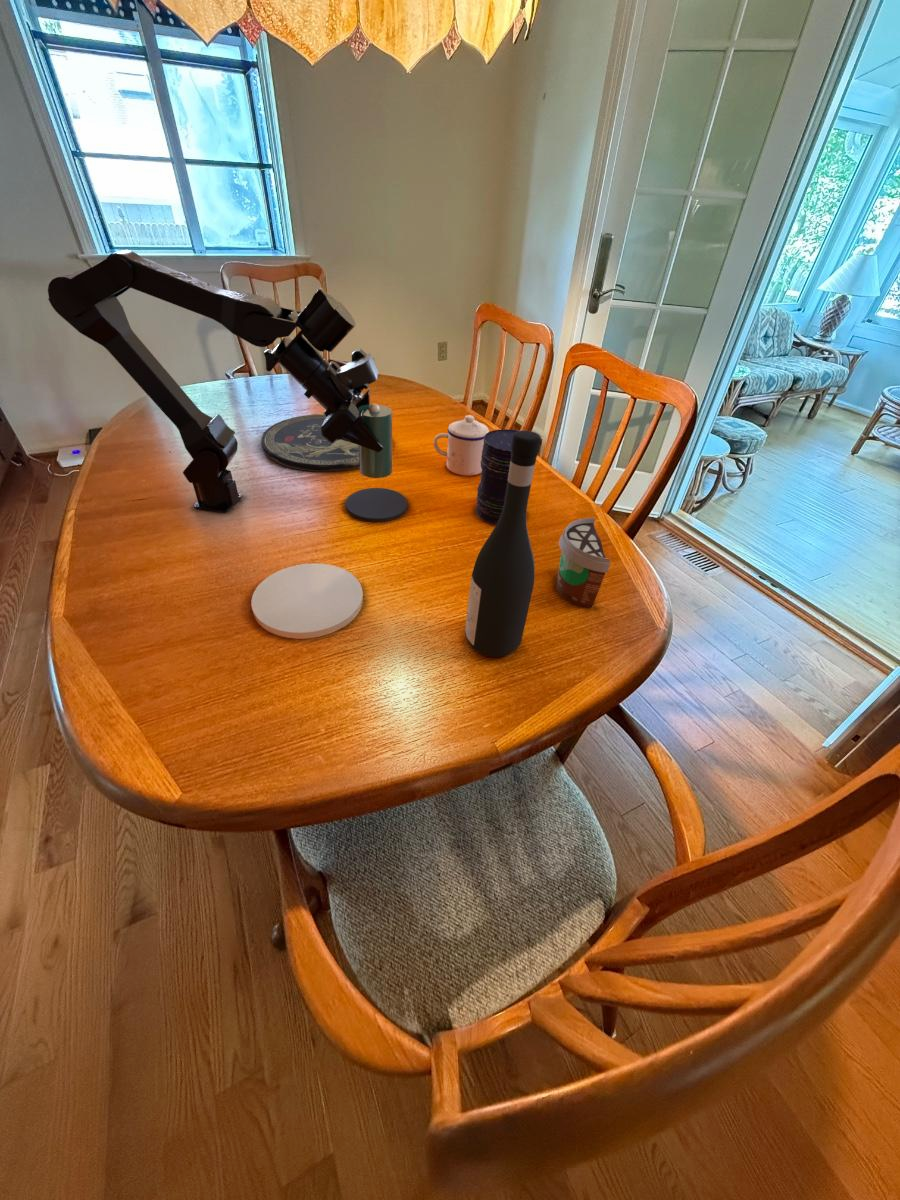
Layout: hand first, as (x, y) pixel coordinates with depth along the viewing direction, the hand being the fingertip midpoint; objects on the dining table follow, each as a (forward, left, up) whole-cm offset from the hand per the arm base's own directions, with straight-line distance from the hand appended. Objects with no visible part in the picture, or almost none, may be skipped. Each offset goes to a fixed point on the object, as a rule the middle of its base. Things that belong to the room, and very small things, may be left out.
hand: (382, 442), depth 87 cm
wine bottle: (+24, -31, -14) cm, 42 cm away
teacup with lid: (+11, +23, -14) cm, 29 cm away
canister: (-1, 0, -5) cm, 6 cm away
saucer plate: (-4, -29, -13) cm, 32 cm away
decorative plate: (-21, +26, -14) cm, 36 cm away
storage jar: (+22, +5, -14) cm, 26 cm away
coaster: (-2, +1, -13) cm, 14 cm away
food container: (+35, -16, -14) cm, 41 cm away
